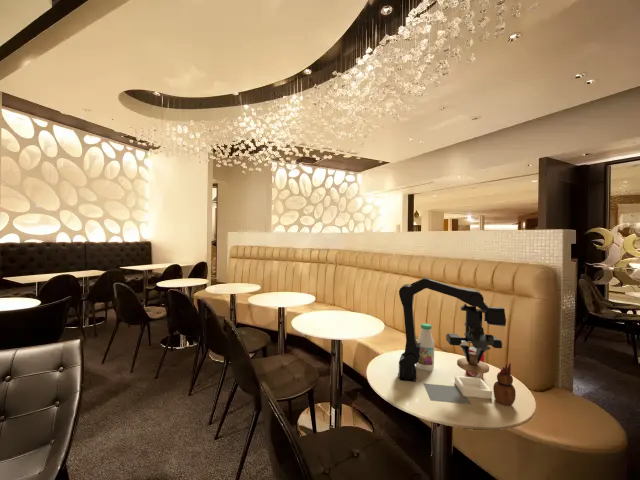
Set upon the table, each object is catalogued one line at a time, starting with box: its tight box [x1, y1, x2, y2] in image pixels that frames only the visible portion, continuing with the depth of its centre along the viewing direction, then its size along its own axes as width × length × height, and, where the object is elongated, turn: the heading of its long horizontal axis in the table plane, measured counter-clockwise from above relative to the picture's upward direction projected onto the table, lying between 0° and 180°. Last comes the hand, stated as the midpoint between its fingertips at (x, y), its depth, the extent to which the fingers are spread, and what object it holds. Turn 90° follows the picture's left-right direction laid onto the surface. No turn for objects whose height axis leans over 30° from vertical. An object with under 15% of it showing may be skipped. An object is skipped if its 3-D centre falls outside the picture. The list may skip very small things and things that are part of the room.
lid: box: [456, 352, 490, 374], centre depth 113 cm, size 11×11×5 cm
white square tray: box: [454, 375, 493, 400], centre depth 113 cm, size 10×10×4 cm
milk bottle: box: [415, 323, 435, 371], centre depth 133 cm, size 8×8×20 cm
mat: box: [423, 383, 472, 405], centre depth 111 cm, size 14×12×1 cm
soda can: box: [465, 345, 485, 379], centre depth 126 cm, size 7×7×12 cm
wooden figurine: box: [492, 362, 517, 407], centre depth 106 cm, size 7×6×15 cm
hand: (472, 362), depth 113 cm, fingers closed on lid, 3 cm apart
